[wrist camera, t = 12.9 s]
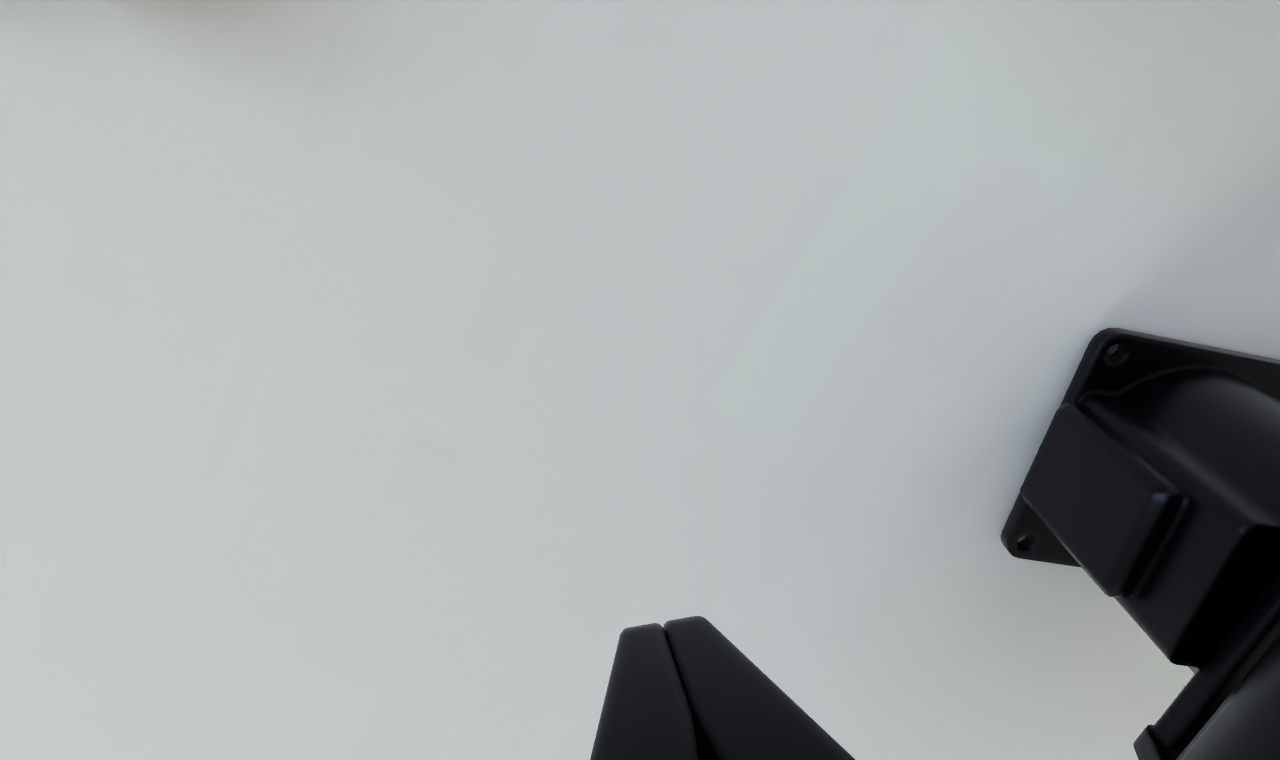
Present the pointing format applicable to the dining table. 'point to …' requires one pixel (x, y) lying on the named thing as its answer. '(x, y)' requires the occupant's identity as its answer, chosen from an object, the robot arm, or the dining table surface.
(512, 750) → the dining table surface
